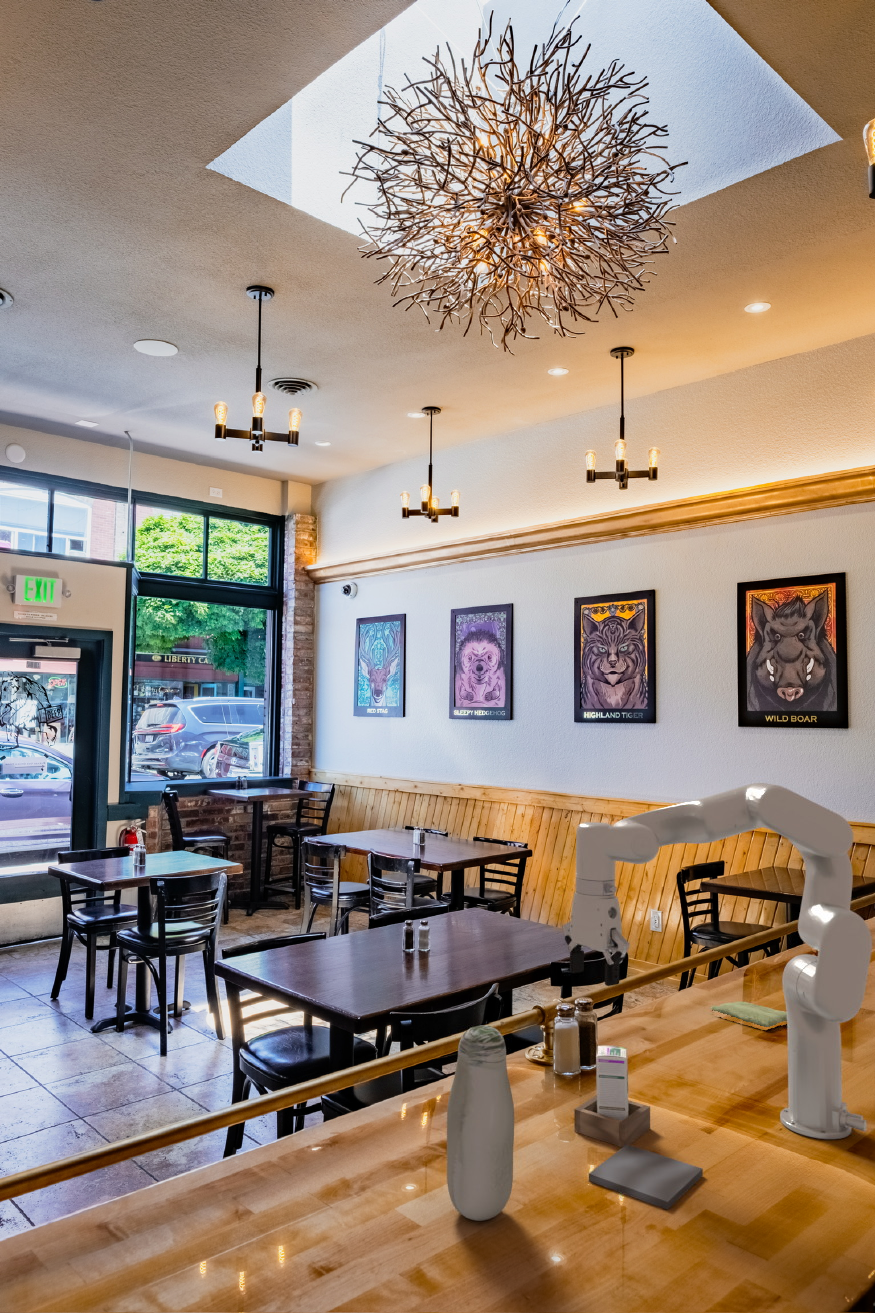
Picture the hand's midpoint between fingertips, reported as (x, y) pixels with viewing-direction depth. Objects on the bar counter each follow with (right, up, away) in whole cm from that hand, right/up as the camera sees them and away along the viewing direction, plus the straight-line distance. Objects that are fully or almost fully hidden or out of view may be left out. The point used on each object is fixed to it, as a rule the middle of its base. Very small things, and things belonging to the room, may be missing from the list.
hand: (593, 978), depth 173 cm
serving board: (+5, -26, -21) cm, 34 cm away
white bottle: (-23, -25, -33) cm, 48 cm away
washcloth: (+52, -34, +64) cm, 89 cm away
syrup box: (+3, -28, -3) cm, 28 cm away
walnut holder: (+3, -27, -3) cm, 28 cm away
